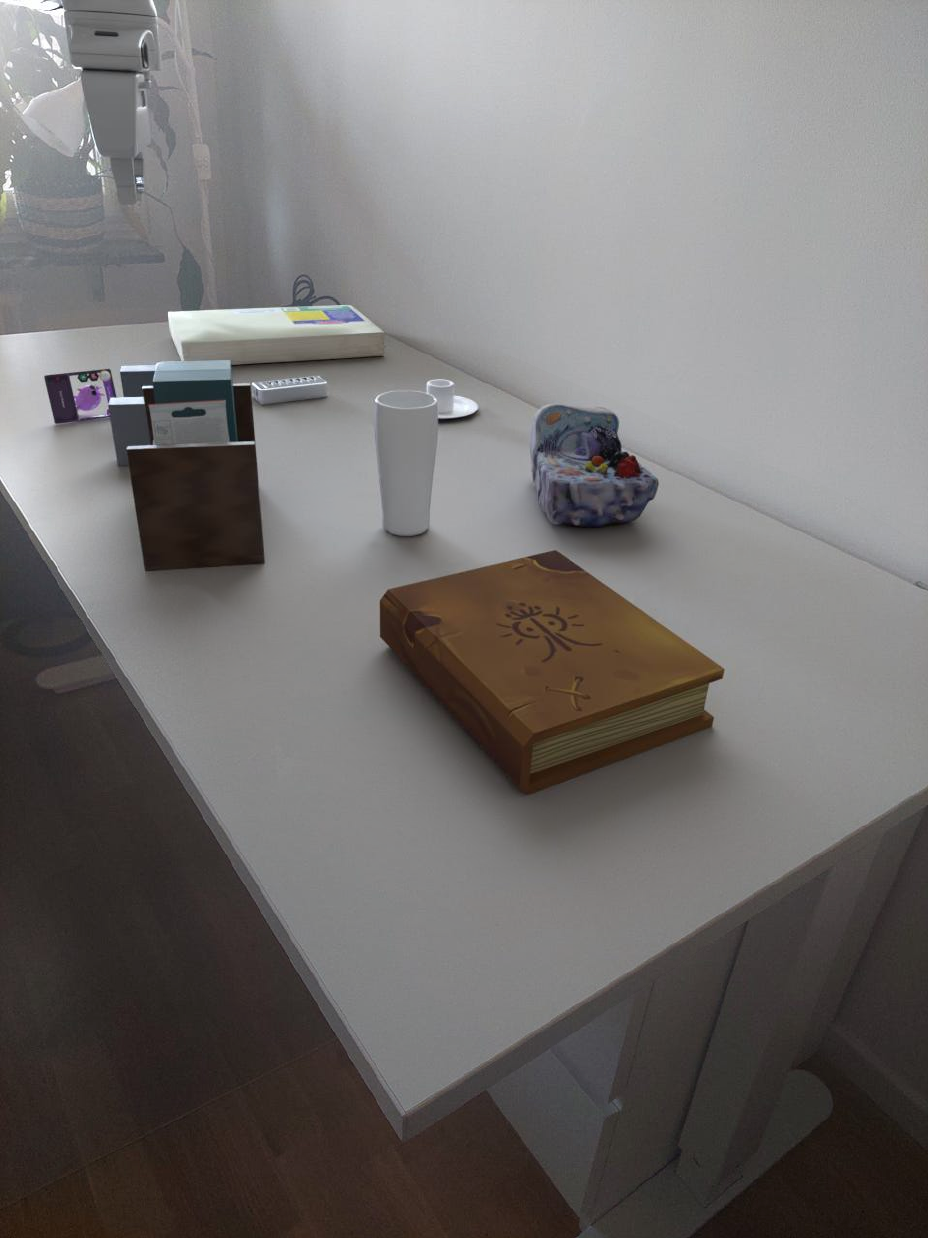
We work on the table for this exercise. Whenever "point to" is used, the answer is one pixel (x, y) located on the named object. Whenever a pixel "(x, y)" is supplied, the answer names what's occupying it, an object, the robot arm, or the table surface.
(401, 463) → the drinking glass
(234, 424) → the teal tall block
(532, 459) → the cell model
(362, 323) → the puzzle box
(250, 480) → the book rack
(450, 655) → the diary
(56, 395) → the purple monster box
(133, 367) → the grey u-shaped block
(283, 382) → the multiport hub
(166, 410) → the ink box
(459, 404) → the candle holder
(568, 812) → the table surface
